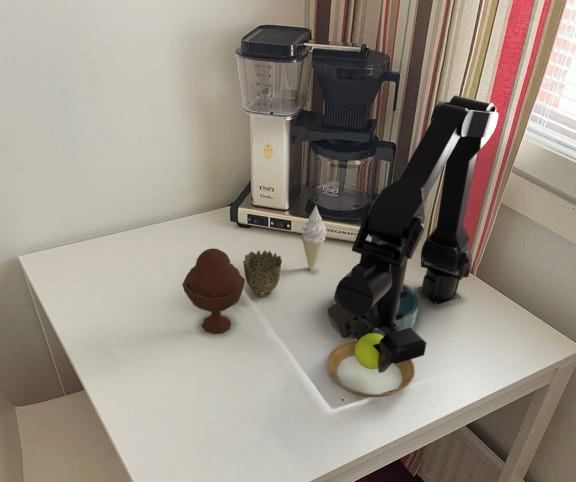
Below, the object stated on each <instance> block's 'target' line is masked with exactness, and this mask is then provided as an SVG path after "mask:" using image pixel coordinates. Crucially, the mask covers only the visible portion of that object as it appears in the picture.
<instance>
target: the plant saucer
mask: <svg viewBox="0 0 576 482" xmlns="http://www.w3.org/2000/svg"><path fill="white" fill-rule="evenodd" d="M356 344H357V338H354V339H351V340H347V341H343V342H342V343H340V344H338V345H337V346H335V347H334V348H333V349H332V350H331V351H330V353H329V355H328V357H327V360H326V361H327V369H328V371H329V374H330V375H331V376H332V378H333V379H334V380H335V381H336V382H337V383H338V385H340V386H341V387H342V388H344V389H345V390H347V391H349V392H351V393H352V394H355V395H358V396H361V397H365V398H384V397H387V396H388V397H389V396H391V395H395V394H397V393H399V392H401V391H402V390H404V389H405V388H407V387H408V386H409V385H410V384H411V383H412V381H413V379H414V377H415V375H416V374H415V373H416V370H415V365H414V361H413V359H410V360H407V361H404V362H400V363H397V364H395V366H396V367H397V368H398V369H399V371H400V374H401V382H400V384H399V386H398V387H397V388H395V389H390V390H388V391H385V392H381V393H367V392H362V391H358V390H355V389H353V388H350V387H348V386H346V385H344V384H343V383H342V381H341V379H340V377H339V374H338V373H339V372H338V371H339V366H340V365H341V363H342V362H343V361H345V360H346V359H348V358H350V357H353V356H355V346H356Z"/></svg>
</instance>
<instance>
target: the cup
mask: <svg viewBox="0 0 576 482" xmlns="http://www.w3.org/2000/svg"><path fill="white" fill-rule="evenodd" d="M282 261H283V259H282V257H281V255H278V254H277V253H276V252H275V253H274V254H273V253H272V252H271V251H268V252H267V250H263V251H262V253H261V250H257V251H256V253H255V252H254V251H250V252H249V253H248V254H245V255H244V260H242V262H243V269H244V275H245V276H244V277H245V282H246V283H247V286H248V287H249V288H250V289H251V290H252V293H253V294H254V296H256V297H258V298H267V297H269V296H271V295H272V292H273V291H274V290H275V288H276V287H277V286H278V284H279V280H280V277H281V269H282Z"/></svg>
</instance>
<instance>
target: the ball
mask: <svg viewBox="0 0 576 482" xmlns="http://www.w3.org/2000/svg"><path fill="white" fill-rule="evenodd" d="M383 337H384V336H382V335H380V334H377V333H369V334H366V335H364V336H362V337H361V338H360V339H359V340H358V342H357V344H356V346H355V355H354V357H355V359H356V361H357V362H358V364H359V365H360V366H362V367H363V368H365V369H368V370H378V357H379V352H378V351H377V350H376V349H375V348H374V346H373V345H375V344H378V343H380V340H381V339H382V338H383Z"/></svg>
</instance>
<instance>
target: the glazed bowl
mask: <svg viewBox="0 0 576 482" xmlns="http://www.w3.org/2000/svg"><path fill="white" fill-rule="evenodd" d="M403 287H404V288H405V289H406V290H407V291H408V293H407V297H403V298H401V299H400V304H399V309H400V310H401V311H402V312H403V313H404V314H403V319H399V320H395V323H396V324H397V325H398V326H399V327H400V328H401V329H406V328H410V327H411V328H412V329H413V327H414V325H415V323H416V320H417V315H418V311H419V300H420V299H419V297H418V295H417V294H416V292H415V290H413V289H412V288H411V287H410V286H409V285H407V284H405V282H403ZM334 298H335V294H334V296H333V299H334ZM334 304H336V302H335V301H334V300H333V305H334ZM373 333H377V334H380V335H382V336H385V334H384V333H383V331H382V330H378V331H377V330H376V329H375V328H374V330H373Z"/></svg>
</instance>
